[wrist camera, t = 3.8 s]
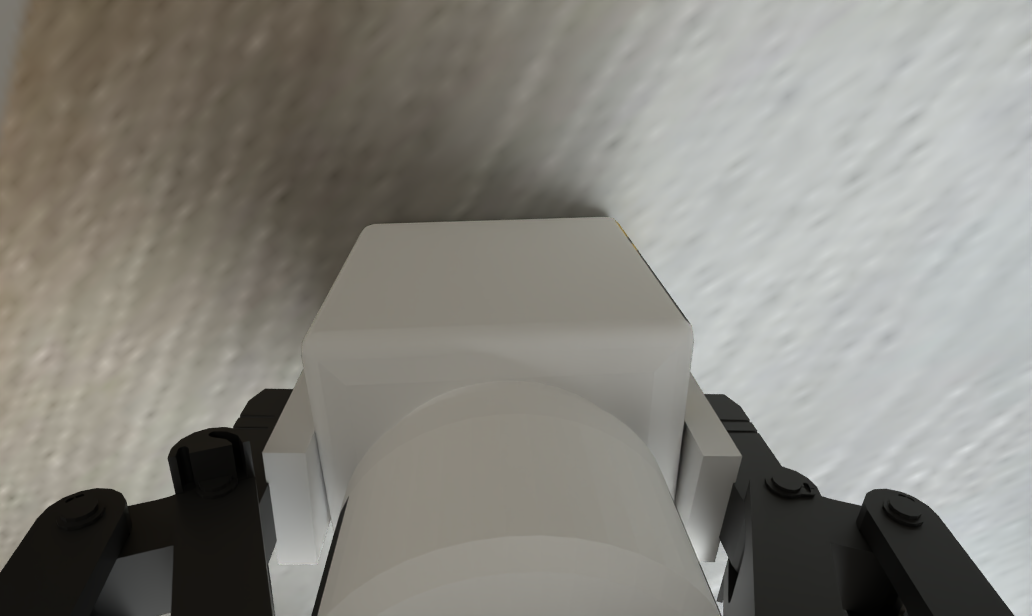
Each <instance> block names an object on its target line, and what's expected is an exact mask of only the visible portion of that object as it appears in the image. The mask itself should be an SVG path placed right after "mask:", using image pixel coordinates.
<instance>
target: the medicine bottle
mask: <svg viewBox="0 0 1032 616" xmlns="http://www.w3.org/2000/svg"><path fill="white" fill-rule="evenodd" d="M693 344H694V336H693V330H692V325H691V324H690V323H689V321H688V320H687V318H686V317H685V316H684V314H683V313H682V311H681V310H680V309H679V307H678V306H677V305H676V303H675V302H674V300H673V299H672V298H671V296H670V295H669V293H668V292H667V291H666V289H665V288H664V286H663V285H662V284H661V282H660V281H659V279H658V278H657V277H656V275H655V274H654V272H653V271H652V270H651V268H650V267H649V265H648V264H647V263H646V261H645V260H644V258H643V257H642V256H641V254H640V253H639V251H638V250H637V249H636V247H635V246H634V244H633V243H632V242H631V240H630V239H629V237H628V236H627V235H626V233H625V232H624V230H623V229H622V228H621V226H620V225H619V223H618V222H617V221H616V220H615V219H614V218H609V217H584V218H551V219H519V220H487V221H454V222H422V223H389V224H372V225H369V226H366V227H365V228H364V229H363V231H362V232H361V234H360V236H359V237H358V239H357V241H356V243H355V245H354V247H353V249H352V250H351V252H350V254H349V256H348V258H347V260H346V262H345V263H344V265H343V267H342V269H341V271H340V273H339V275H338V276H337V278H336V280H335V282H334V284H333V286H332V288H331V289H330V291H329V293H328V295H327V297H326V299H325V300H324V302H323V304H322V306H321V308H320V310H319V312H318V313H317V315H316V317H315V319H314V321H313V323H312V325H311V326H310V328H309V330H308V332H307V334H306V336H305V338H304V339H303V341H302V348H301V357H302V362H303V367H304V373H305V378H306V384H307V389H308V395H309V400H310V406H311V411H312V417H313V422H314V428H315V433H316V438H317V444H318V449H319V455H320V460H321V466H322V471H323V477H324V482H325V488H326V493H327V499H328V504H329V509H330V515H331V520H332V526H333V531H334V536H333V539H332V543H331V546H330V550H329V554H328V557H327V561H326V565H325V568H324V572H323V576H322V579H321V583H320V586H319V590H318V594H317V597H316V601H315V605H314V608H313V612H312V616H721V613H720V611H719V609H718V606H717V604H716V601H715V599H714V597H713V594H712V592H711V589H710V587H709V585H708V582H707V580H706V577H705V575H704V572H703V570H702V568H701V565H700V563H699V560H698V558H697V556H696V553H695V551H694V548H693V546H692V544H691V541H690V539H689V536H688V534H687V532H686V529H685V527H684V524H683V522H682V520H681V517H680V515H679V512H678V510H677V508H676V505H675V503H674V500H675V492H676V483H677V475H678V467H679V459H680V451H681V442H682V434H683V426H684V418H685V410H686V401H687V393H688V385H689V377H690V368H691V360H692V352H693Z"/></svg>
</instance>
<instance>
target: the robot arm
mask: <svg viewBox="0 0 1032 616" xmlns="http://www.w3.org/2000/svg"><path fill="white" fill-rule="evenodd" d="M168 462H169V466H170V471H171V475H172V480H173V484H174V489H175V493H176V494H175V495H173V496H170V497H166V498H163V499H159V500H155V501H150V502H145V503H140V504H136V505H131V506H127V502H126V500H125V498H124V496H123V495H122V493H120V492H118V491H115V490H113V489H103V488H96V489H90V490H85V491H80V492H77V493H75V494H72V495H69V496H67V497H64V498H62V499H61V500H59V501H57V502H56V503H54V504H53V505H51V506H49V507H48V508H47V509H46V510H45V511H44V512H43V513H42V514H41V515H40V516H39V517H38V518H37V520H36V521H35V522H34V524H33V525H32V527H31V528H30V530H29V531H28V533H27V534H26V536H25V537H24V539H23V540H22V542H21V543H20V544H19V546H18V547H17V549H16V550H15V552H14V553H13V555H12V556H11V558H10V559H9V561H8V562H7V564H6V565H5V566H4V568H3V569H2V571H1V572H0V616H160V615H163V614H167V613H170V612H171V616H275V611H274V603H273V595H272V588H271V580H270V573H269V567H268V563H269V560H270V558H271V555H272V552H273V550H274V547H276V554H277V561H278V565H317V564H318V561H319V557H320V554H321V550H322V547H323V543H324V540H325V536H326V533H327V530H328V526H329V523H330V519H331V515H330V509H329V504H328V499H327V493H326V488H325V482H324V477H323V471H322V466H321V460H320V455H319V449H318V444H317V438H316V433H315V428H314V422H313V417H312V411H311V406H310V400H309V395H308V389H307V384H306V378H305V373H304V369H303V371H302V373H301V375H300V377H299V379H298V381H297V383H296V385H295V387H294V389H264V390H263V391H261V392H260V393H259V394H257V395H256V396H255V397H253V398H252V399H251V400H249V401H248V403H247V404H246V406H245V408H244V409H243V411H242V413H241V414H240V418H238V420H237V421H236V423H235V425H234V426H233V428H227V427H219V428H208V429H205V430H202V431H198V432H195V433H192V434H190V435H189V436H187V437H185V438H183V439H181V440H180V441H179V442H178V443H177V444H175V445H174V446H173V447H172V448H171V450H170V453H169V455H168ZM674 503H675V505H676V508H677V510H678V512H679V515H680V517H681V520H682V522H683V524H684V527H685V529H686V532H687V534H688V536H689V539H690V541H691V544H692V546H693V548H694V551H695V553H696V556H697V558H698V560H699V562H715V559H716V555H717V551H718V547H719V543H720V541H721V543H722V545H723V547H724V549H725V551H726V553H727V555H728V561H727V565H726V569H725V572H724V576H723V580H722V583H721V587H720V591H719V594H718V598H717V601H718V602H721V603H722V602H723V616H1014V615H1013V613H1012V612H1011V611H1010V609H1009V608H1008V607H1007V605H1006V604H1005V603H1004V601H1003V600H1002V599H1001V597H1000V596H999V595H998V594H997V592H996V591H995V590H994V588H993V587H992V586H991V584H990V583H989V582H988V580H987V579H986V578H985V576H984V575H983V574H982V573H981V571H980V570H979V569H978V567H977V566H976V565H975V563H974V562H973V561H972V559H971V558H970V557H969V555H968V554H967V553H966V552H965V550H964V549H963V548H962V546H961V545H960V544H959V542H958V541H957V540H956V538H955V537H954V536H953V534H952V533H951V532H950V530H949V529H948V528H947V527H946V525H945V524H944V523H943V521H942V520H941V519H940V517H939V516H938V515H937V514H936V513H935V512H934V511H933V510H932V509H931V508H930V507H929V506H927V505H926V504H924V503H923V502H921V501H920V500H918V499H916V498H915V497H912V496H910V495H907V494H905V493H902V492H899V491H894V490H890V489H874V490H872V491H870V492H868V493H867V494H866V496H865V499H864V501H863V504H862V506H860V505H855V504H851V503H846V502H842V501H837V500H833V499H829V498H826V497H822V496H821V495H820V493H819V490H818V488H817V486H815V485H814V484H813V483H812V482H811V481H810V480H809V479H808V478H807V477H805V476H803V475H802V474H800V473H798V472H796V471H794V470H791V469H788V468H785V467H782V466H781V465H780V463H779V462H778V460H777V459H776V457H775V456H774V454H773V453H772V452H771V450H770V449H769V447H768V446H767V444H766V443H765V441H764V440H763V438H762V437H761V436H760V434H759V433H757V430H756V428H755V427H754V425H753V424H752V423H751V422H750V420H749V418H748V417H747V415H746V414H745V412H744V411H743V410H742V408H741V407H740V406H739V405H738V404H736V403H735V402H734V401H732V400H731V399H730V398H728V397H727V396H726V395H724V394H704V393H703V392H702V390H701V388H700V387H699V385H698V384H697V382H696V380H695V379H694V377H693V375H692V374H691V372H690V377H689V385H688V393H687V401H686V410H685V418H684V426H683V434H682V442H681V451H680V459H679V467H678V475H677V483H676V492H675V500H674Z"/></svg>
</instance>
